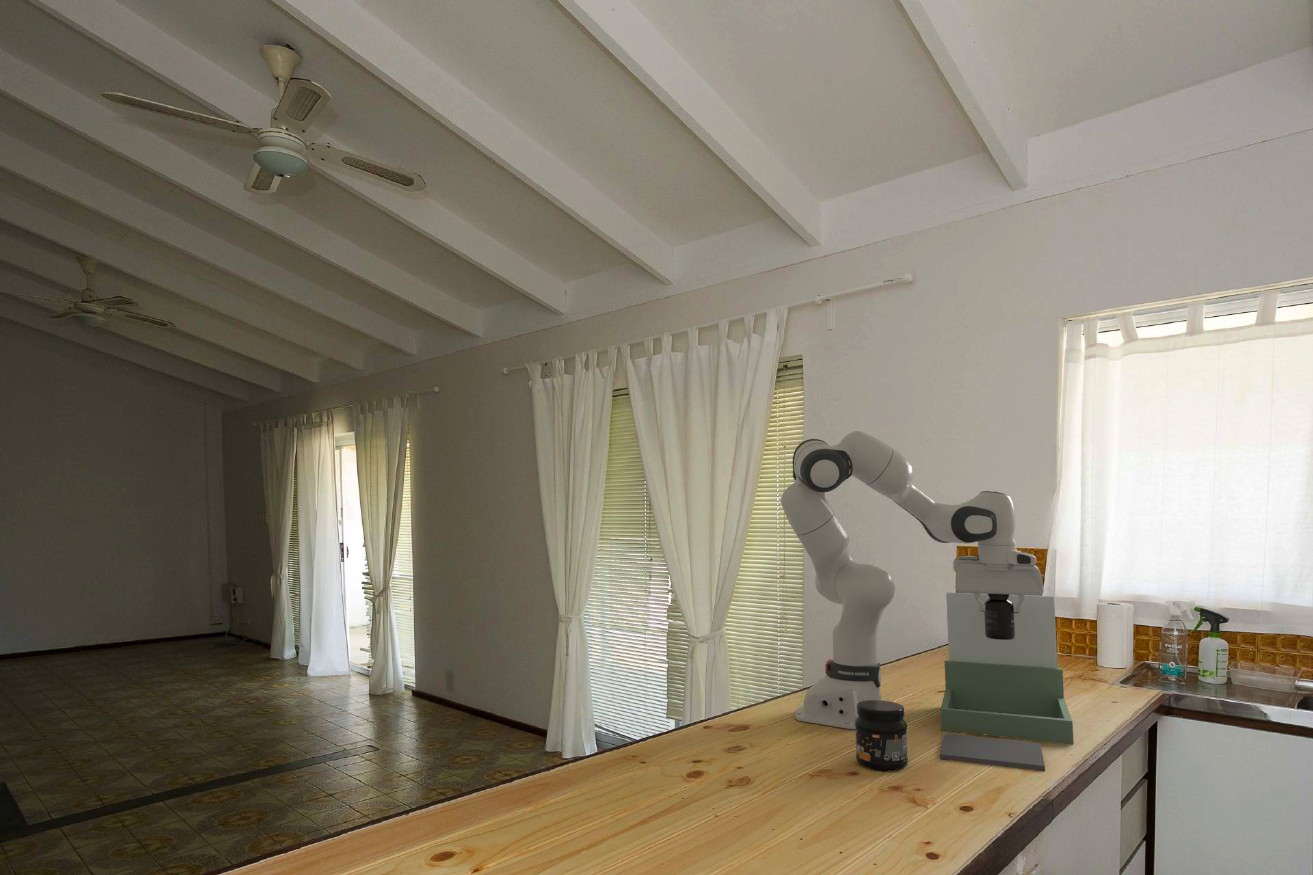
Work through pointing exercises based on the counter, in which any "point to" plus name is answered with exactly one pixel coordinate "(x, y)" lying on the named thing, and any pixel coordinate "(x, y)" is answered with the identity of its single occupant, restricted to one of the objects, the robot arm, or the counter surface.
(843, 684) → the robot arm
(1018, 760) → the mat
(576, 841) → the counter surface
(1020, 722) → the cold frame
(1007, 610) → the supplement bottle
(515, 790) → the counter surface
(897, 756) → the supplement container
